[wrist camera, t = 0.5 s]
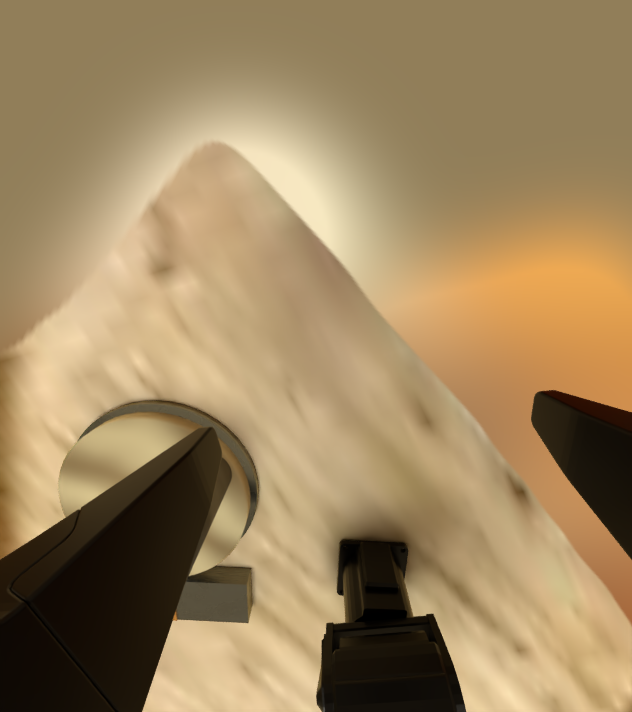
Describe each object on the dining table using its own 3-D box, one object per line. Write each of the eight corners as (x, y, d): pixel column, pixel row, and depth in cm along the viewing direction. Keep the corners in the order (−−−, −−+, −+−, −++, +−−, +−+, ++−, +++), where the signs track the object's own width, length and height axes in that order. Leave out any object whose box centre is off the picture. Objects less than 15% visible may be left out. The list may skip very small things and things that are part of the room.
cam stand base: (261, 605, 32) (258, 624, 31) (102, 597, 33) (89, 616, 31) (256, 404, 26) (251, 413, 24) (60, 397, 27) (41, 405, 25)
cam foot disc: (179, 620, 32) (112, 784, 22) (30, 553, 30) (-120, 698, 20) (283, 470, 27) (257, 592, 16) (111, 376, 25) (-37, 450, 15)
